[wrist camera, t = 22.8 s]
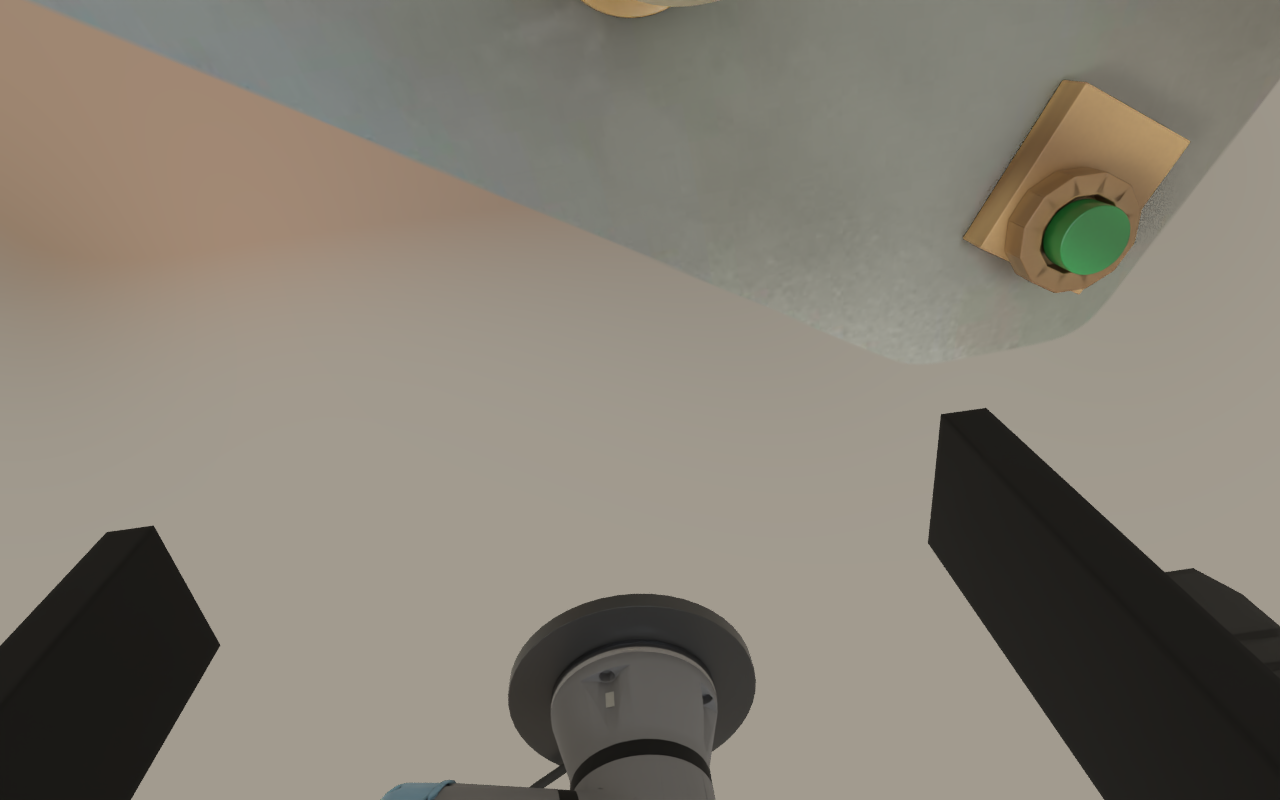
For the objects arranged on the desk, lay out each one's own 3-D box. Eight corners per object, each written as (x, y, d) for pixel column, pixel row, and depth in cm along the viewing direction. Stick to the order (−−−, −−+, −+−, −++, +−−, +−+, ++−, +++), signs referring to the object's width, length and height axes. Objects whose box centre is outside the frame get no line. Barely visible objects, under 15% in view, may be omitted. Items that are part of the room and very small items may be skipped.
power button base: (1054, 289, 47) (1093, 311, 43) (958, 245, 45) (990, 263, 41) (1163, 136, 42) (1216, 146, 39) (1062, 79, 41) (1108, 84, 37)
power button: (1079, 276, 42) (1099, 285, 41) (1028, 251, 41) (1046, 260, 40) (1124, 214, 41) (1145, 221, 39) (1072, 187, 40) (1092, 193, 38)
